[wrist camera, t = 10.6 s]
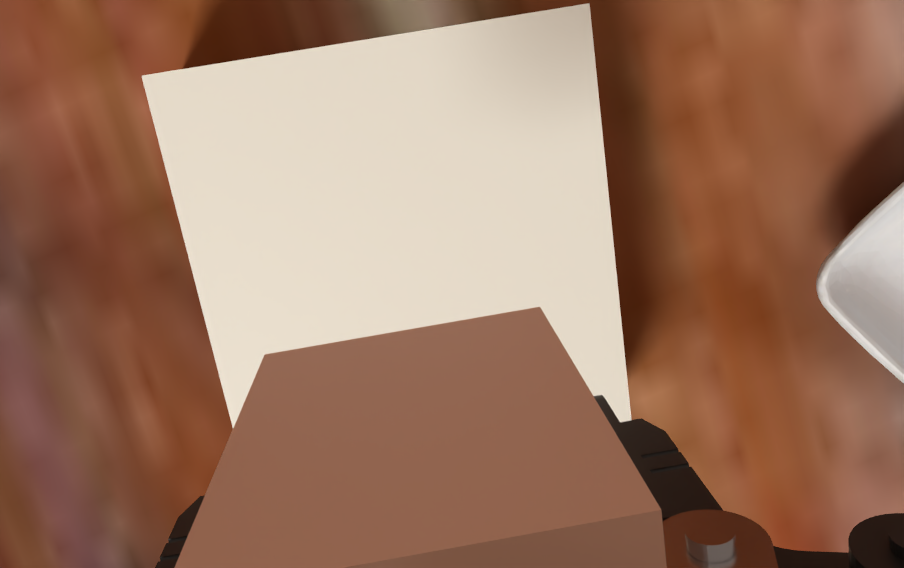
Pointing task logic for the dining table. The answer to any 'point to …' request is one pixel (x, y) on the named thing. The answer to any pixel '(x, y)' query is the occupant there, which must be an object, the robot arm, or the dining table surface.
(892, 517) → the robot arm
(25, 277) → the dining table surface
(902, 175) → the dining table surface
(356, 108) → the plinth
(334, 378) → the light pinkish-tan block
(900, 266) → the salad plate
